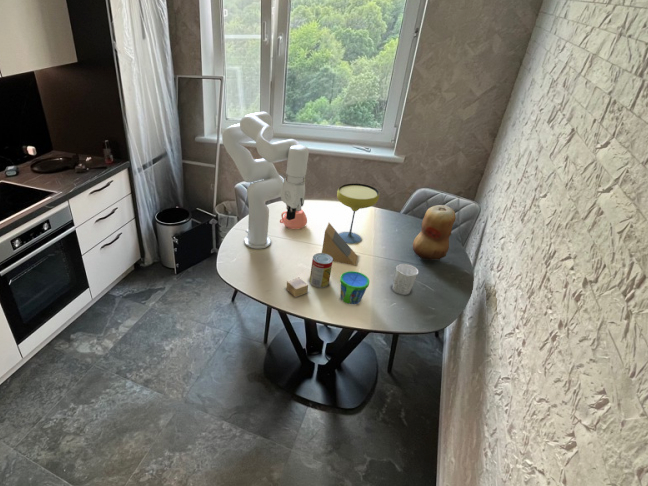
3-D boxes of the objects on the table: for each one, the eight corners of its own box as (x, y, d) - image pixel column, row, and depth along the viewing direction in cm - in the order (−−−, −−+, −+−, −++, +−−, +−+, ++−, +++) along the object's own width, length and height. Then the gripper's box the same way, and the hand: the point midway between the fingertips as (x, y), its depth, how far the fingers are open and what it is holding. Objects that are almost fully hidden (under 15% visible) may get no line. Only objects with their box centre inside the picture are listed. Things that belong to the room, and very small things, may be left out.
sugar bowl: (308, 230, 204) (311, 213, 198) (281, 232, 204) (282, 214, 198) (303, 219, 214) (305, 202, 208) (277, 220, 214) (278, 203, 209)
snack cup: (355, 315, 150) (360, 294, 144) (329, 304, 156) (333, 283, 150) (371, 294, 160) (376, 274, 154) (345, 285, 166) (349, 264, 160)
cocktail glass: (371, 233, 199) (382, 186, 185) (365, 251, 186) (377, 202, 172) (334, 226, 206) (341, 181, 192) (326, 243, 193) (334, 195, 179)
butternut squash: (405, 259, 179) (419, 208, 165) (415, 246, 187) (430, 197, 173) (438, 270, 171) (457, 218, 157) (448, 256, 179) (466, 206, 165)
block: (286, 289, 165) (287, 281, 163) (298, 284, 167) (299, 277, 165) (295, 297, 161) (296, 289, 158) (307, 292, 163) (308, 284, 160)
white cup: (402, 298, 157) (409, 277, 151) (386, 287, 163) (391, 267, 157) (416, 291, 160) (423, 271, 154) (399, 281, 166) (405, 261, 160)
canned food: (331, 279, 169) (335, 255, 162) (325, 289, 164) (329, 265, 157) (313, 274, 173) (316, 251, 166) (306, 284, 167) (310, 260, 161)
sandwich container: (355, 266, 176) (362, 236, 168) (320, 259, 182) (325, 230, 174) (358, 256, 183) (364, 227, 174) (324, 249, 189) (328, 221, 180)
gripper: (276, 172, 161) (273, 213, 171) (299, 187, 149) (293, 229, 160) (292, 169, 163) (287, 209, 174) (315, 183, 152) (308, 224, 162)
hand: (290, 218), depth 167 cm, fingers closed
